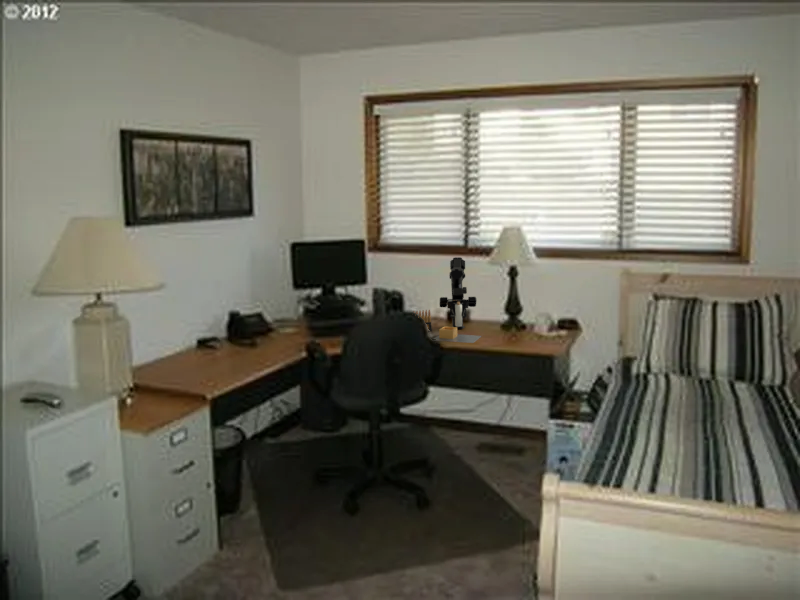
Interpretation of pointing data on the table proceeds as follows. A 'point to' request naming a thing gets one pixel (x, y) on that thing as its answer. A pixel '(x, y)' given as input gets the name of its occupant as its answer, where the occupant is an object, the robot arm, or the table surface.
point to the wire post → (458, 314)
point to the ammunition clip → (426, 318)
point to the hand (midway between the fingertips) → (458, 315)
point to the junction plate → (454, 336)
